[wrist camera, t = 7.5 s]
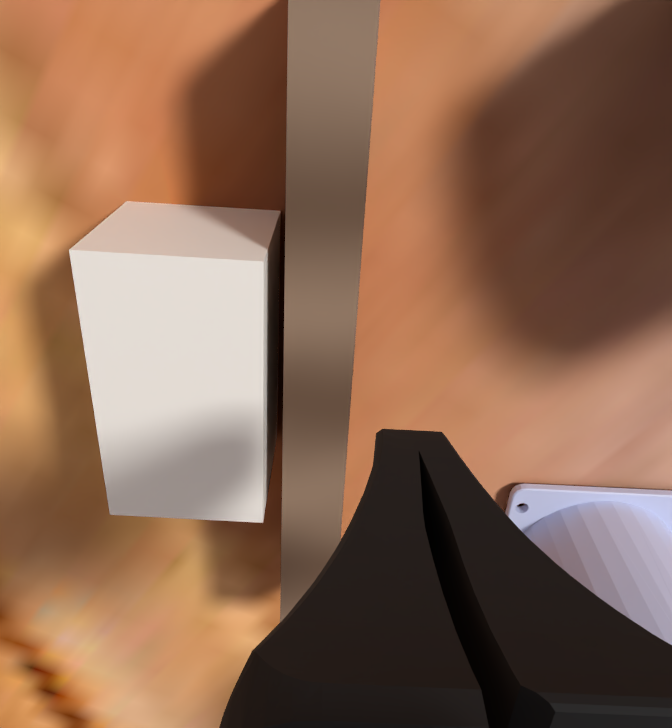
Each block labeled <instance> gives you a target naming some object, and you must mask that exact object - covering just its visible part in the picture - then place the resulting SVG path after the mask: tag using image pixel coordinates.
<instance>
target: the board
mask: <svg viewBox="0 0 672 728" xmlns="http://www.w3.org/2000/svg"><path fill="white" fill-rule="evenodd" d="M379 12H380V0H288V51H287V130H286V210H285V289H284V369H283V448H282V528H281V607H280V622H281V621H282V620H283V619H284V618H285V617H286V616H287V615H288V613H289V612H290V611H291V610H292V609H293V607H294V606H295V605H296V604H297V602H298V601H299V600H300V599H301V597H302V596H303V595H304V594H305V592H306V591H307V590H308V589H309V588H310V586H311V585H312V584H313V582H314V581H315V580H316V578H317V577H318V575H319V574H320V573H321V571H322V570H323V568H324V566H325V565H326V563H327V562H328V560H329V559H330V557H331V556H332V554H333V553H334V551H335V549H336V548H337V546H338V544H339V543H340V538H341V524H342V511H343V497H344V484H345V470H346V457H347V443H348V430H349V416H350V403H351V389H352V376H353V362H354V349H355V335H356V322H357V309H358V295H359V282H360V268H361V255H362V241H363V228H364V214H365V201H366V187H367V174H368V160H369V147H370V133H371V120H372V107H373V93H374V80H375V66H376V53H377V39H378V26H379Z"/></svg>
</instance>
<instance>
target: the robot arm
mask: <svg viewBox="0 0 672 728" xmlns="http://www.w3.org/2000/svg"><path fill="white" fill-rule="evenodd" d="M521 503H525V504H524V505H523V506H519V507H518V506H517V505H519V504H521ZM220 728H672V491H670V490H649V489H628V488H608V487H587V486H566V485H545V484H519V485H516V486H515V487H514V488H512V490H511V492H510V495H509V499H508V504H507V508H506V512H505V513H504V512H503V510H502V509H501V508H500V507H499V506H498V505H497V504H496V502H495V501H494V500H493V499H492V497H491V496H490V495H489V494H488V493H487V491H486V490H485V489H484V488H483V486H482V485H481V484H480V483H479V482H478V480H477V479H476V478H475V476H474V475H473V474H472V472H471V471H470V470H469V468H468V467H467V466H466V464H465V463H464V462H463V460H462V459H461V458H460V456H459V455H458V453H457V452H456V451H455V449H454V448H453V446H452V445H451V443H450V442H449V441H448V439H447V438H446V436H445V435H444V434H443V433H442V432H434V431H413V430H393V429H382V430H380V431H379V432H377V433H376V441H375V451H374V461H373V467H372V471H371V474H370V477H369V480H368V482H367V485H366V488H365V491H364V494H363V496H362V498H361V501H360V503H359V505H358V507H357V509H356V512H355V514H354V516H353V518H352V520H351V522H350V524H349V526H348V528H347V530H346V532H345V534H344V536H343V537H342V539H341V541H340V543H339V544H338V546H337V548H336V549H335V551H334V553H333V554H332V556H331V557H330V559H329V560H328V562H327V563H326V565H325V566H324V568H323V570H322V571H321V573H320V574H319V575H318V577H317V578H316V580H315V581H314V582H313V584H312V585H311V586H310V588H309V589H308V590H307V591H306V592H305V594H304V595H303V596H302V597H301V599H300V600H299V601H298V602H297V604H296V605H295V606H294V607H293V609H292V610H291V611H290V612H289V613H288V615H287V616H286V617H285V618H284V619H283V620H282V621H281V622H280V623H279V624H278V625H277V626H276V627H275V628H274V629H273V630H272V632H271V633H270V634H269V635H268V636H267V637H266V638H265V639H264V640H263V641H262V642H261V643H260V644H259V645H258V646H257V647H256V648H255V649H254V650H253V651H252V653H251V655H250V657H249V659H248V661H247V663H246V665H245V667H244V669H243V671H242V673H241V675H240V677H239V679H238V681H237V683H236V685H235V687H234V690H233V692H232V694H231V696H230V699H229V701H228V704H227V706H226V709H225V712H224V715H223V717H222V721H221V724H220Z"/></svg>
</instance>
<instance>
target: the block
mask: <svg viewBox="0 0 672 728" xmlns="http://www.w3.org/2000/svg"><path fill="white" fill-rule="evenodd" d="M280 215H281V211H277V210H261V209H244V208H228V207H212V206H195V205H179V204H163V203H146V202H130V201H126V202H125V203H124V204H123V205H122V206H120V207H119V208H118V209H117V210H116V211H114V212H113V213H112V214H111V215H110V216H109V217H107V218H106V219H105V220H104V221H103V222H101V223H100V224H99V225H98V226H97V227H95V228H94V229H93V230H92V231H91V232H90V233H88V234H87V235H86V236H85V237H84V238H82V239H81V240H80V241H79V242H78V243H76V244H75V245H74V246H73V247H72V248H71V249H69V254H70V260H71V266H72V273H73V279H74V286H75V292H76V299H77V305H78V312H79V318H80V325H81V331H82V338H83V344H84V351H85V357H86V364H87V370H88V376H89V383H90V389H91V396H92V402H93V409H94V415H95V422H96V428H97V435H98V441H99V448H100V454H101V461H102V467H103V474H104V480H105V486H106V493H107V499H108V506H109V512H110V515H125V516H144V517H163V518H181V519H200V520H219V521H238V522H257V523H263V520H264V514H265V507H266V501H267V495H268V489H269V483H270V477H271V470H272V464H273V458H274V452H275V446H276V440H277V405H278V341H279V278H280Z"/></svg>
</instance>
